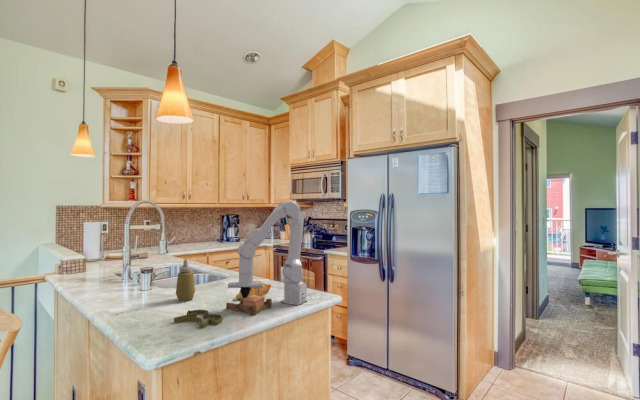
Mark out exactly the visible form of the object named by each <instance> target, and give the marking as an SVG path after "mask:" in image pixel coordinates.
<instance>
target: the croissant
mask: <svg viewBox="0 0 640 400" xmlns="http://www.w3.org/2000/svg"><path fill="white" fill-rule="evenodd" d="M253 282H257V283H264V288H263V289H260V288H251V290H250V292H249V295H248V296H251V295H257V296H262V295H263V296H265V294H267V292H269V291H270V289H271V287H272V284H270V283H269V284H268V283H265V282H262V281H261V280H253ZM235 298H236V299H237V300H240V298H243V296H242V294H241V293H240V291H239V292H238V293H237V294H236V295H235Z"/></svg>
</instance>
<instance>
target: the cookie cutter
mask: <svg viewBox="0 0 640 400" xmlns="http://www.w3.org/2000/svg"><path fill="white" fill-rule="evenodd" d="M198 315H203V319H204V320H206V321H205V322H203V319H202V317H199V316H198ZM215 319H216V320H215ZM222 321H223V315H222V314H219V313H209V310H207V309H206V310H205V309H191V310H187V311H186V314H185V315H180V316H176V317H173V323H174V324H179V323H186V322H196V323H199V329H205V328H206V327H207V326H209V324H210V325H213V326H218V325H220V324H221V323H222Z"/></svg>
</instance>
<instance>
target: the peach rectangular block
mask: <svg viewBox="0 0 640 400" xmlns="http://www.w3.org/2000/svg"><path fill="white" fill-rule="evenodd" d="M264 301H265V296H264V295H263V296H257V295H251V296H248V297H246V298H243V305H244V306H249V307H250V306H252V305H256V308H258V307H261V306H263V305H264Z"/></svg>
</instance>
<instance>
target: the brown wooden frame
mask: <svg viewBox="0 0 640 400" xmlns="http://www.w3.org/2000/svg"><path fill="white" fill-rule="evenodd" d="M225 306H226V308H225V309H226V310H229V311H236V312H240V313H244V314H249V315H250V316H252V315H253V316H257V314H258V313H260V311H261V312H263V311H265V310H267V309H268V308H270V307H272V298H267V299H265V300H264V305H263V306H261V307H258V308H256V305H252V306H250V307H249V306H244V305H243V298H240V299H239V303H234V302H226V304H225ZM266 308H267V309H266ZM264 309H265V310H264ZM270 309H271V308H270ZM262 310H263V311H262Z"/></svg>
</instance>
